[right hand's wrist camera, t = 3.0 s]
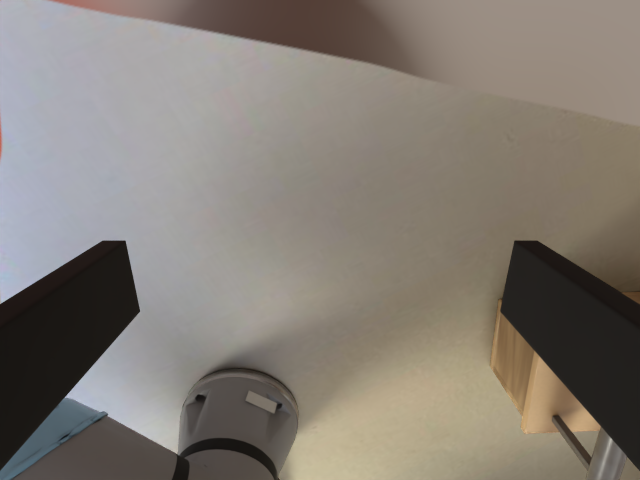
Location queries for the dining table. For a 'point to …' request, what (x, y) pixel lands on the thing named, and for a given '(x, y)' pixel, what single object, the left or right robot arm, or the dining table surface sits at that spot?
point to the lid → (568, 422)
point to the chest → (516, 357)
